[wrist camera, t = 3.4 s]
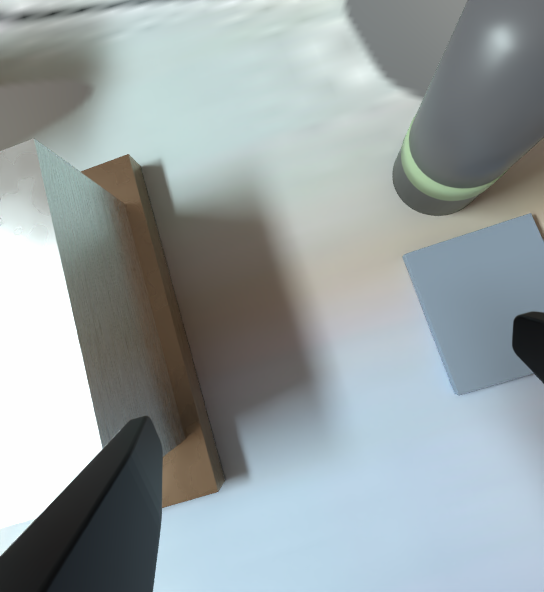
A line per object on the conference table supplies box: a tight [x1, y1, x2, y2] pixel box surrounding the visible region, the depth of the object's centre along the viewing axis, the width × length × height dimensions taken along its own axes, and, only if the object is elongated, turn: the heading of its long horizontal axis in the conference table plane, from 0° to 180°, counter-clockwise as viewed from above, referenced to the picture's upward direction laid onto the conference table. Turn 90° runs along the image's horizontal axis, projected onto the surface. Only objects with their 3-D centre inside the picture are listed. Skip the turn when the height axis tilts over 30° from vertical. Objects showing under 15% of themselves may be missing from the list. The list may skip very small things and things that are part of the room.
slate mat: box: [403, 213, 544, 395], centre depth 19 cm, size 8×7×1 cm
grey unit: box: [0, 138, 225, 528], centre depth 18 cm, size 20×10×8 cm, turn 17°
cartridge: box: [393, 0, 544, 216], centre depth 15 cm, size 5×5×11 cm
